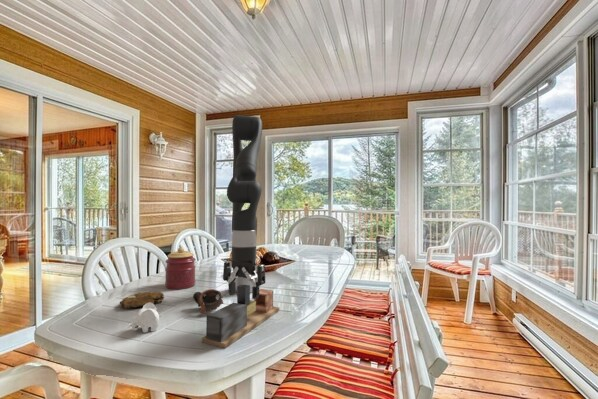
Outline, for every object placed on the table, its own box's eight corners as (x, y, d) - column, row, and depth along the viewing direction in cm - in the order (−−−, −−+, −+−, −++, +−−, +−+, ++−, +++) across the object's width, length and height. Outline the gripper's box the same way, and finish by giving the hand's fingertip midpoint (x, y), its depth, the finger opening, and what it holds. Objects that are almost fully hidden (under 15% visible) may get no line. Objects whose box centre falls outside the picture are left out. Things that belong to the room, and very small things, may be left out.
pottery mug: (227, 306, 111) (228, 291, 107) (214, 326, 103) (214, 310, 99) (199, 296, 114) (198, 280, 110) (184, 315, 106) (183, 299, 102)
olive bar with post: (220, 331, 81) (220, 298, 81) (211, 329, 82) (212, 297, 82) (255, 310, 97) (256, 282, 97) (248, 309, 98) (248, 281, 98)
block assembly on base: (225, 348, 79) (225, 319, 79) (202, 342, 82) (202, 314, 82) (279, 310, 106) (279, 289, 106) (260, 307, 109) (260, 286, 109)
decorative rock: (160, 297, 122) (118, 306, 113) (160, 287, 122) (117, 295, 113) (168, 303, 113) (122, 314, 104) (167, 292, 113) (122, 302, 104)
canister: (159, 286, 136) (160, 247, 136) (186, 280, 146) (186, 244, 146) (173, 291, 127) (173, 250, 128) (200, 285, 137) (201, 247, 137)
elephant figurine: (129, 327, 91) (129, 304, 92) (163, 322, 95) (163, 300, 95) (126, 337, 84) (126, 312, 85) (163, 332, 88) (163, 308, 88)
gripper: (218, 244, 93) (217, 296, 92) (256, 247, 87) (256, 303, 86) (232, 241, 99) (232, 290, 99) (269, 244, 94) (269, 296, 93)
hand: (243, 296), depth 93 cm, fingers open, 8 cm apart
